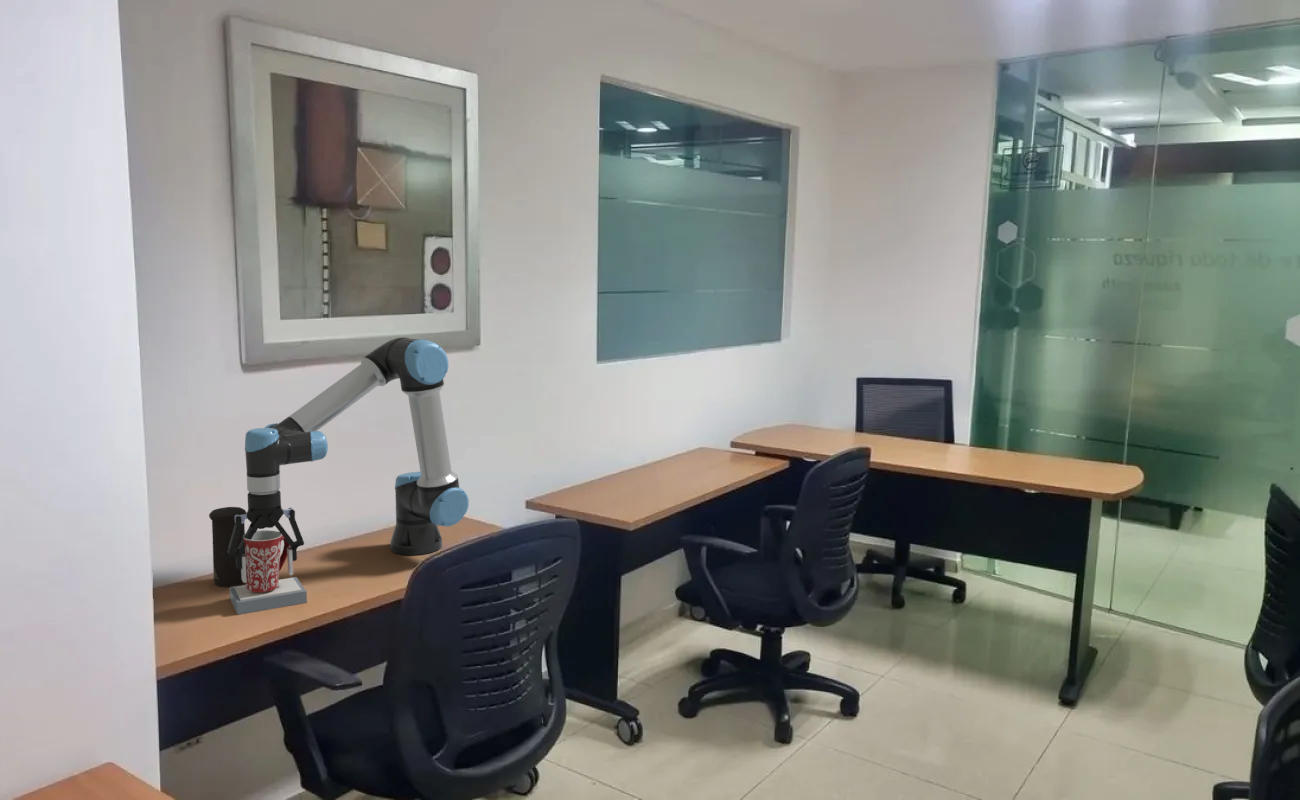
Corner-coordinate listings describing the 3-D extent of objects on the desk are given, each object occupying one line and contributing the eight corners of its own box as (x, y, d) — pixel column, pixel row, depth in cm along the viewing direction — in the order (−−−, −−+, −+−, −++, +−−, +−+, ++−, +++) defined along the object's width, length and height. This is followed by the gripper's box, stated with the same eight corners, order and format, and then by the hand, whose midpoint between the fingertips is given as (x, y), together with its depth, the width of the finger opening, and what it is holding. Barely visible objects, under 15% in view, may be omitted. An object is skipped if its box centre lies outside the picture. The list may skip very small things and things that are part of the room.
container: (235, 573, 242) (232, 502, 239) (256, 580, 237) (253, 508, 234) (205, 583, 234) (201, 509, 231) (226, 590, 230) (222, 515, 227)
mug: (259, 596, 215) (259, 542, 214) (234, 588, 219) (234, 535, 218) (301, 582, 227) (301, 531, 225) (276, 575, 231) (277, 525, 229)
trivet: (296, 587, 233) (296, 575, 232) (306, 602, 223) (306, 590, 222) (230, 598, 224) (229, 586, 223) (237, 614, 214) (236, 601, 213)
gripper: (308, 482, 228) (311, 565, 232) (211, 493, 216) (215, 580, 219) (315, 489, 222) (318, 573, 225) (215, 500, 210) (219, 589, 213)
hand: (267, 577), depth 222 cm, fingers closed on mug, 10 cm apart
